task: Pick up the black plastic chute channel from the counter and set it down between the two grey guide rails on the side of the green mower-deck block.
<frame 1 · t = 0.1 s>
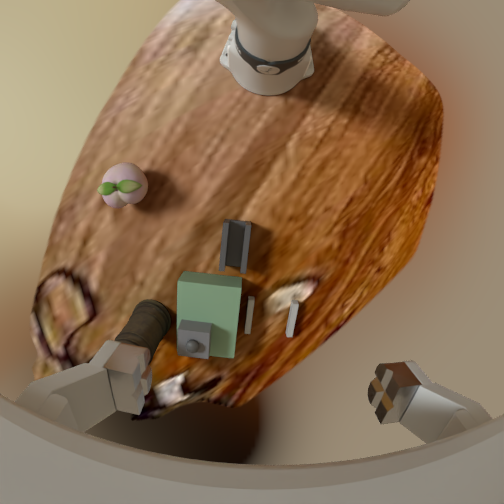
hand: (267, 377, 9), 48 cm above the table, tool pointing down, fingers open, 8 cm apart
deck: (210, 309, 60), on the table
decorative fruit: (133, 183, 54), on the table
container: (152, 317, 61), on the table
chute: (235, 242, 57), on the table
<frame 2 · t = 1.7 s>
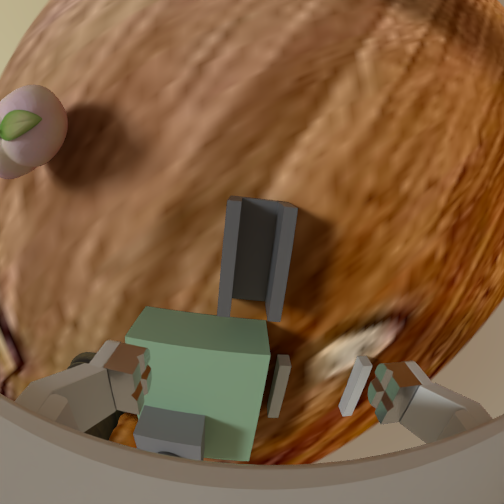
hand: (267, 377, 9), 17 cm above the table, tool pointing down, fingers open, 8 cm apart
deck: (202, 376, 29), on the table
decorative fruit: (54, 134, 22), on the table
container: (102, 379, 30), on the table
chute: (253, 248, 26), on the table
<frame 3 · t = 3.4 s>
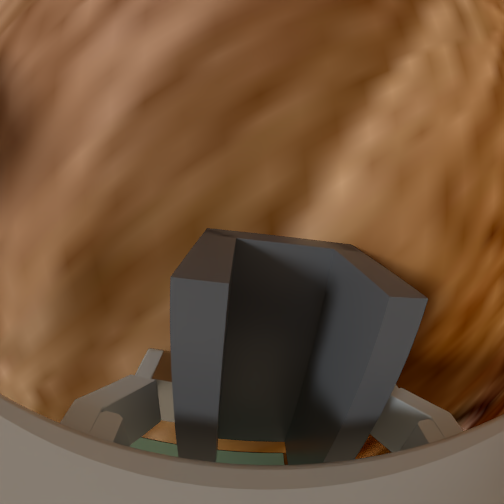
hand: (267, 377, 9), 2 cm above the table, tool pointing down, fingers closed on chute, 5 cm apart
deck: (179, 498, 14), on the table
chute: (264, 349, 11), on the table, touching gripper
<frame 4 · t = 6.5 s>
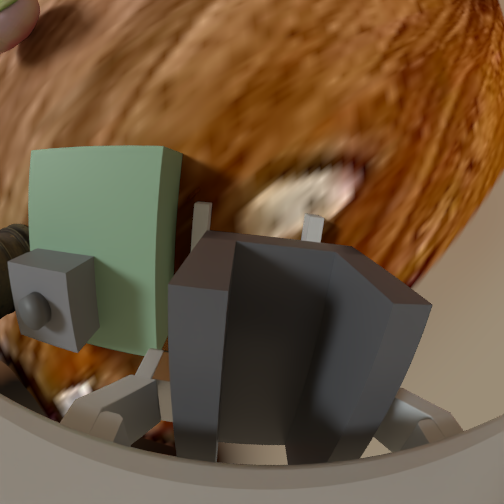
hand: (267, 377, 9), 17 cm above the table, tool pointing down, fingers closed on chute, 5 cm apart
deck: (114, 238, 25), on the table
decorative fruit: (29, 32, 18), on the table
container: (25, 261, 25), on the table
chute: (264, 352, 11), point 15 cm above the table, touching gripper
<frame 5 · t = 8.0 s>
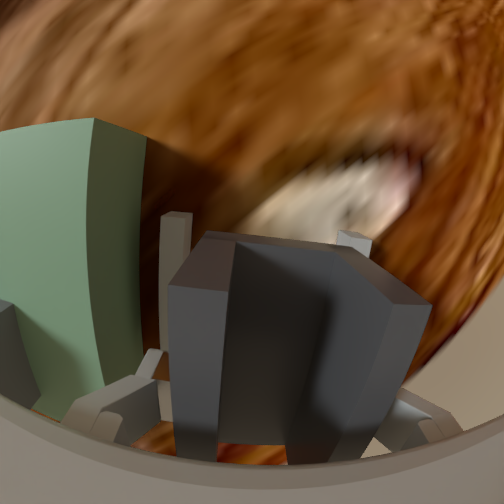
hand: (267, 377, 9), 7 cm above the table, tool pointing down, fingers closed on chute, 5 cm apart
deck: (59, 264, 16), on the table
chute: (264, 352, 11), point 6 cm above the table, touching gripper
when the fingers open (4 cm above the table, at t = 9.2 s): chute drops 2 cm, on the table.
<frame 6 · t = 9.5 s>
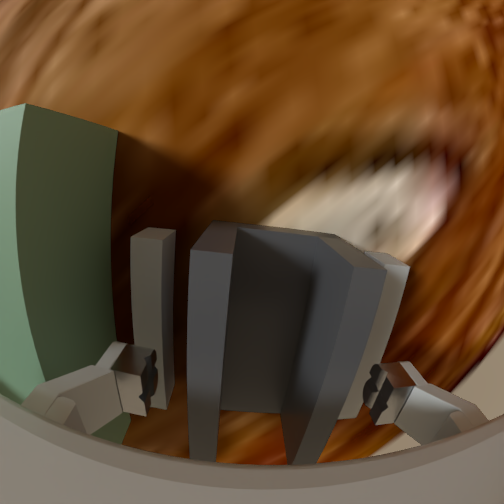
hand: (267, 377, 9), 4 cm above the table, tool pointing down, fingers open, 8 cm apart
deck: (25, 288, 12), on the table
chute: (261, 325, 13), on the table
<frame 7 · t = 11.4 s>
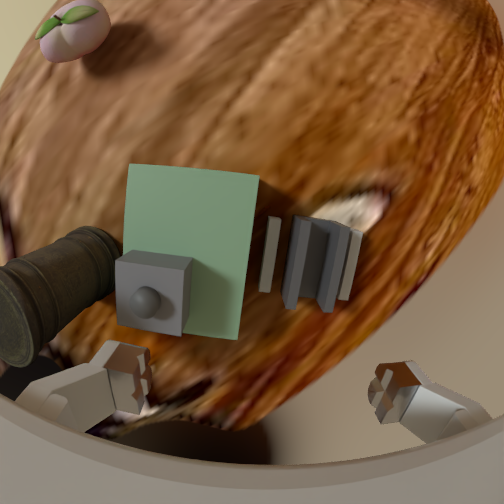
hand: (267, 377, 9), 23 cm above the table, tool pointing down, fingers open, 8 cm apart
deck: (193, 242, 32), on the table
decorative fruit: (92, 44, 25), on the table
container: (93, 261, 32), on the table
chute: (307, 256, 32), on the table
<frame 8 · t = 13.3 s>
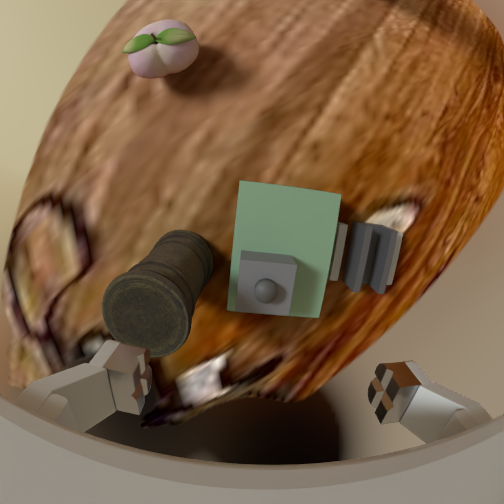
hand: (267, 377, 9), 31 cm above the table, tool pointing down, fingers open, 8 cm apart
deck: (277, 243, 40), on the table
decorative fruit: (171, 62, 33), on the table
container: (183, 260, 40), on the table
chute: (362, 252, 41), on the table
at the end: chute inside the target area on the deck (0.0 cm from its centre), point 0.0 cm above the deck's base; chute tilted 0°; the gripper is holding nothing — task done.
